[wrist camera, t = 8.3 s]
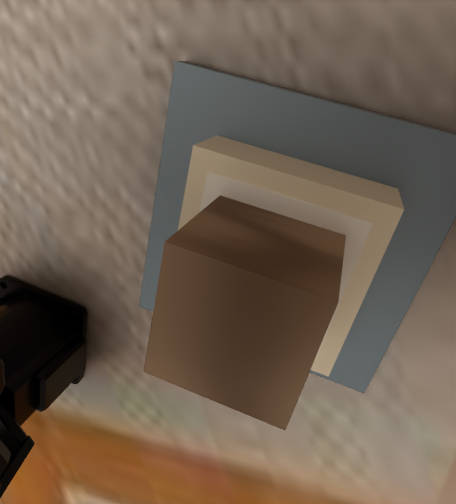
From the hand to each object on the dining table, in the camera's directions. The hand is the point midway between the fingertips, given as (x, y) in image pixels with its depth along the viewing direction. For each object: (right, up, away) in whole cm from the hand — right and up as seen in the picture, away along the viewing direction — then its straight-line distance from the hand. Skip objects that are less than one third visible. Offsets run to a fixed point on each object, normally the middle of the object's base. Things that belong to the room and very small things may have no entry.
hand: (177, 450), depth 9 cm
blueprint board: (+4, +5, +11) cm, 13 cm away
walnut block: (+3, +4, +8) cm, 9 cm away
